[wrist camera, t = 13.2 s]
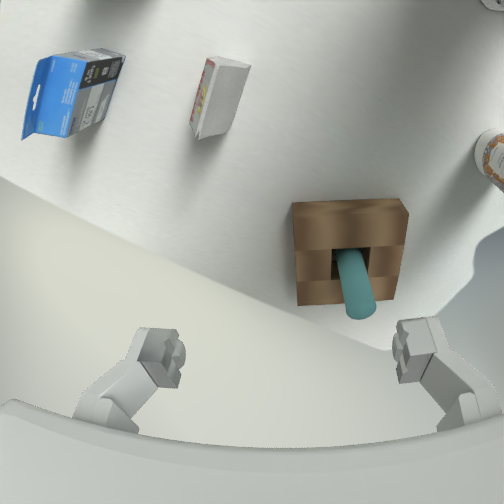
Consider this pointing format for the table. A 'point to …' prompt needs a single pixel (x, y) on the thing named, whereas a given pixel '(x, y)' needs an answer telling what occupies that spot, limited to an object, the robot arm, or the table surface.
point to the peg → (355, 283)
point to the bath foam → (491, 156)
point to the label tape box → (71, 92)
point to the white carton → (218, 96)
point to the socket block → (347, 245)
